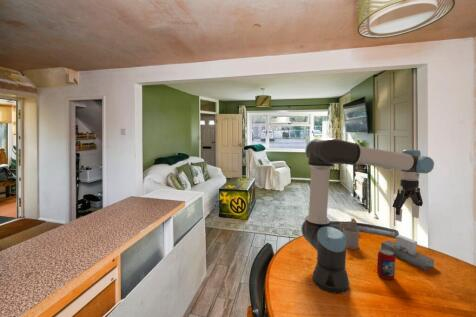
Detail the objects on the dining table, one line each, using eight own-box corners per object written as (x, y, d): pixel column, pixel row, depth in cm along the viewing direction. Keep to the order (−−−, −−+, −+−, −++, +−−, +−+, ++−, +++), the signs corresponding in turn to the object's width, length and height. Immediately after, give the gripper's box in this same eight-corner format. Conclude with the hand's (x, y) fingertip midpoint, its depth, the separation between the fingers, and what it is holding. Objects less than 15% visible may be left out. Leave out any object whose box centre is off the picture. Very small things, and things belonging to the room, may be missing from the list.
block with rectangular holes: (424, 270, 105) (425, 262, 105) (381, 249, 126) (381, 242, 126) (433, 267, 108) (434, 259, 108) (389, 246, 128) (389, 240, 128)
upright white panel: (415, 261, 113) (417, 241, 113) (412, 262, 112) (413, 242, 111) (398, 253, 121) (399, 234, 121) (395, 254, 120) (396, 235, 120)
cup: (360, 249, 126) (360, 232, 125) (344, 248, 128) (345, 231, 127) (355, 242, 134) (356, 227, 133) (341, 241, 136) (341, 226, 135)
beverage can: (386, 282, 97) (387, 256, 96) (373, 273, 104) (374, 249, 103) (398, 279, 99) (399, 254, 98) (384, 270, 106) (385, 247, 105)
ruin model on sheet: (353, 231, 151) (353, 217, 150) (356, 233, 148) (357, 219, 147) (338, 232, 149) (339, 219, 148) (341, 234, 146) (341, 220, 145)
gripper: (401, 182, 105) (398, 224, 107) (433, 178, 114) (430, 218, 116) (385, 179, 112) (383, 219, 114) (417, 176, 121) (414, 213, 123)
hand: (407, 219), depth 115 cm, fingers open, 13 cm apart
